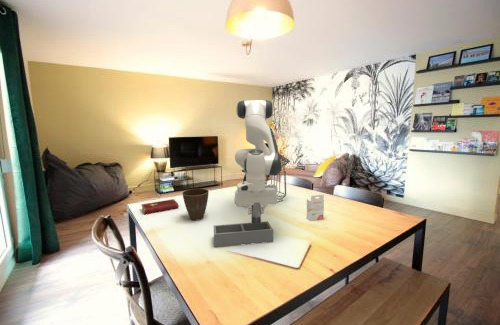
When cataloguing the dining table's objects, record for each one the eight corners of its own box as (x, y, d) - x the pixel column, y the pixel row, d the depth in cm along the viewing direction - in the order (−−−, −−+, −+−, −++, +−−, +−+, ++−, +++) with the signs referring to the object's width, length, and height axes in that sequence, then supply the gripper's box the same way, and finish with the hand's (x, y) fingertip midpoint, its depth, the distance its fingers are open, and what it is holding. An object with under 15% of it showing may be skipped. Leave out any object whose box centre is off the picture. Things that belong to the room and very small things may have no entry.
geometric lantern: (261, 198, 176) (261, 152, 171) (279, 196, 182) (280, 151, 178) (271, 204, 161) (272, 154, 157) (290, 202, 168) (292, 153, 164)
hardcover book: (178, 209, 155) (178, 203, 155) (144, 215, 144) (144, 209, 144) (174, 204, 165) (173, 198, 165) (141, 210, 154) (141, 203, 154)
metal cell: (250, 220, 113) (250, 198, 111) (259, 219, 113) (259, 198, 112) (252, 224, 108) (252, 201, 107) (261, 223, 109) (261, 201, 108)
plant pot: (203, 223, 130) (202, 196, 128) (178, 222, 133) (177, 194, 130) (213, 214, 144) (212, 189, 142) (190, 212, 147) (189, 188, 145)
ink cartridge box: (318, 216, 140) (319, 192, 138) (323, 219, 135) (324, 194, 133) (306, 217, 138) (306, 193, 136) (310, 221, 133) (311, 195, 131)
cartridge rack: (213, 237, 114) (213, 225, 113) (267, 232, 118) (267, 221, 118) (214, 247, 104) (214, 234, 103) (273, 241, 109) (273, 229, 108)
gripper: (275, 182, 113) (275, 209, 115) (233, 184, 110) (234, 212, 112) (279, 185, 107) (279, 214, 109) (235, 187, 104) (235, 217, 106)
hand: (256, 213), depth 110 cm, fingers closed on metal cell, 4 cm apart
